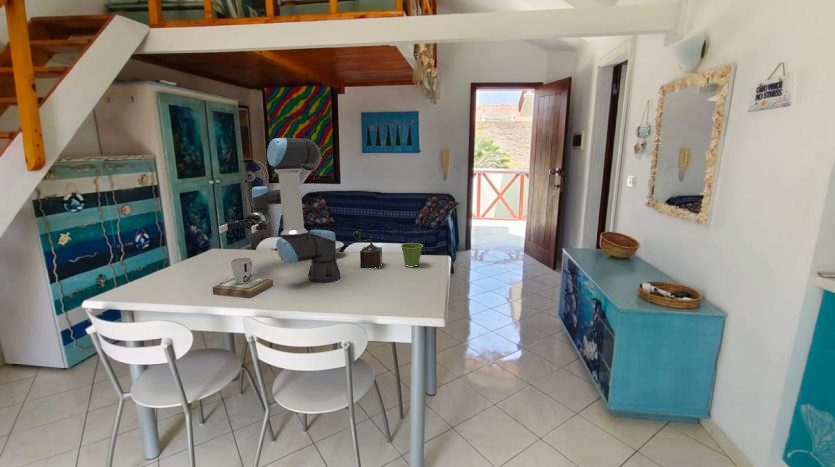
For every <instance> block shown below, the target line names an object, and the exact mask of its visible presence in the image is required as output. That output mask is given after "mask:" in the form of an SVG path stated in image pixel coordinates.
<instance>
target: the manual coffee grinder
mask: <svg viewBox="0 0 835 467" xmlns="http://www.w3.org/2000/svg"><path fill="white" fill-rule="evenodd" d="M352 235H353V237H354V238H355V241H357V242H358V243H363V242H364V243H365V242H369V243H370V244H369V245H367V246H363V247H362V249H361V250H360V251H359V259H360V261H359V262H360V266H359V268H360V269H361V268H375V267H376V268H379V267H380V266H381V264H382V265H383V247H382V246H376V245H374V244H373V235H370V236H369V238H368V239H362V240H361V237H360V236H361V232H360V231H358V230H357V231H354V232H353V234H352ZM381 267H382V266H381Z"/></svg>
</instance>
